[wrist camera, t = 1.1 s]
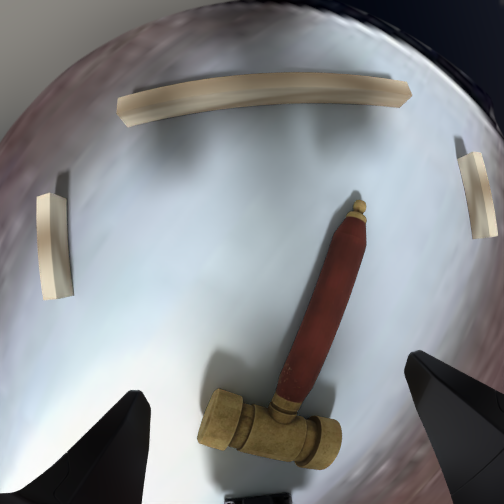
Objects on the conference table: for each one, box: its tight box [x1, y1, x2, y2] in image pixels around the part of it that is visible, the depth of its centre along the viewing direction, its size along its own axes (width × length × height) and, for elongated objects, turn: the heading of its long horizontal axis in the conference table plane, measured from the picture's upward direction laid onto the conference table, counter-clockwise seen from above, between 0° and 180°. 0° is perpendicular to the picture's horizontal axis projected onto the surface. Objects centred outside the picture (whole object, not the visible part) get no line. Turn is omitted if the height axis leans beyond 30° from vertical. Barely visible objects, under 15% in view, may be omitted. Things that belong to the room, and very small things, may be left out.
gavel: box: [197, 200, 367, 470], centre depth 18 cm, size 21×5×10 cm
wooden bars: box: [37, 72, 498, 300], centre depth 19 cm, size 14×39×2 cm, turn 98°
